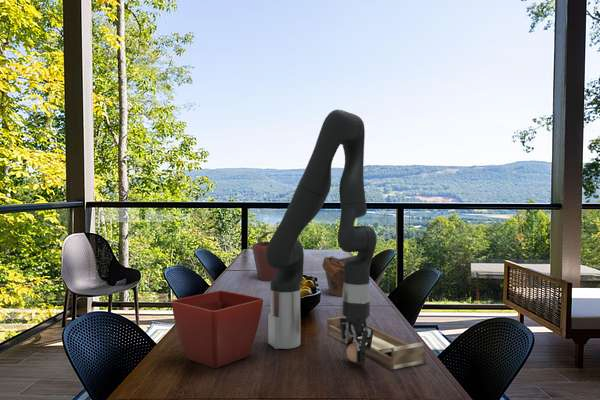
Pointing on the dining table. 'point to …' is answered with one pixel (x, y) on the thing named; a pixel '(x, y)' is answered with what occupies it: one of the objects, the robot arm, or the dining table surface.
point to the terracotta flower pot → (335, 274)
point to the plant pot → (217, 326)
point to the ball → (352, 352)
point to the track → (385, 347)
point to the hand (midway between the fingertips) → (355, 359)
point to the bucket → (263, 260)
